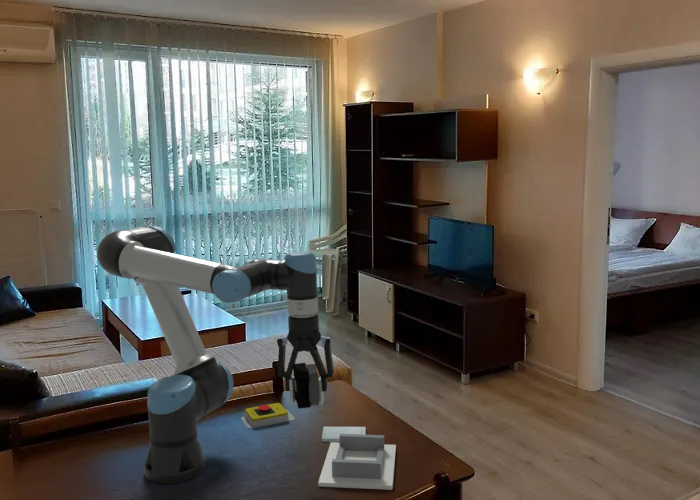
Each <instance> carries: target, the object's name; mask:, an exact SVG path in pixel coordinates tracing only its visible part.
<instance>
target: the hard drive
mask: <svg viewBox="0 0 700 500" xmlns="http://www.w3.org/2000/svg"><path fill="white" fill-rule="evenodd" d="M366 430H367V428H366V426H323V428H322V433H321V434H322V435H321V442H322V443H331V442H336V443H339V436H340V434H362V435H367V433H366Z"/></svg>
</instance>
